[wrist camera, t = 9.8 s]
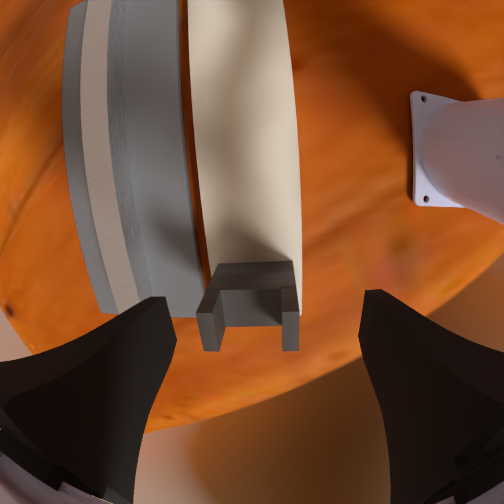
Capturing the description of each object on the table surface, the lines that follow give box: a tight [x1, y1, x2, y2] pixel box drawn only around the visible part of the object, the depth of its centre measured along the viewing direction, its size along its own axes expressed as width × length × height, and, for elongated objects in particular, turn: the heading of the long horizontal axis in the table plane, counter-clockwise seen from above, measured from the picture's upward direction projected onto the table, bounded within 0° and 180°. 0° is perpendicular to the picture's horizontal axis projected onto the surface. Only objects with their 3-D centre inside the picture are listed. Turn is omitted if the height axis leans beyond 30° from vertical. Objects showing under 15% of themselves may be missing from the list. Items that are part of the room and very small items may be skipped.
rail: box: [80, 0, 154, 314], centre depth 15 cm, size 2×25×2 cm, turn 4°
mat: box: [62, 0, 205, 318], centre depth 16 cm, size 10×28×1 cm, turn 4°
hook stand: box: [188, 0, 302, 352], centre depth 12 cm, size 6×27×7 cm, turn 4°
